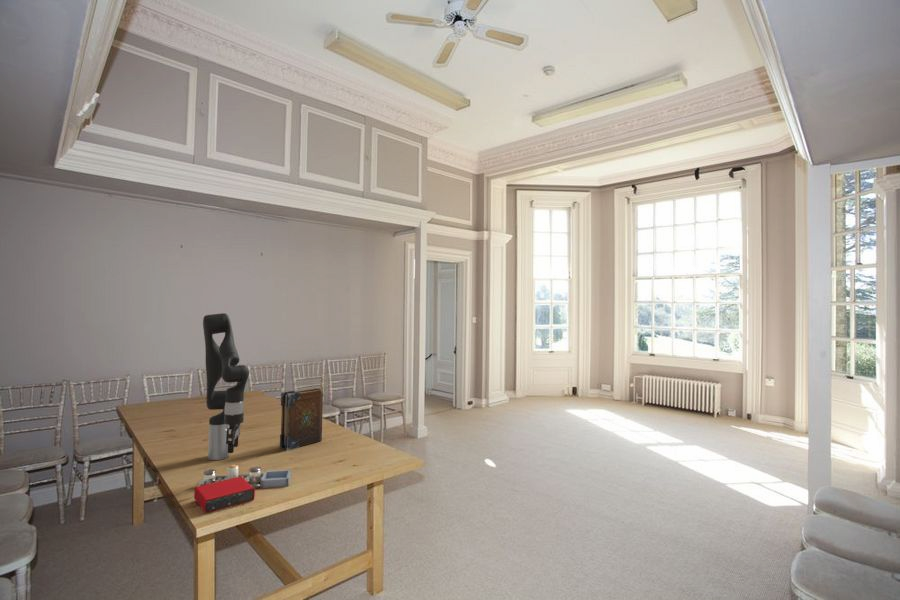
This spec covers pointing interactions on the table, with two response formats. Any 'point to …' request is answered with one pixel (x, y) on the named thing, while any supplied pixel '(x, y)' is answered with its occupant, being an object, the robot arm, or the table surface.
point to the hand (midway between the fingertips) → (232, 449)
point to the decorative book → (301, 418)
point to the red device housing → (224, 494)
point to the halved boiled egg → (232, 471)
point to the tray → (275, 478)
